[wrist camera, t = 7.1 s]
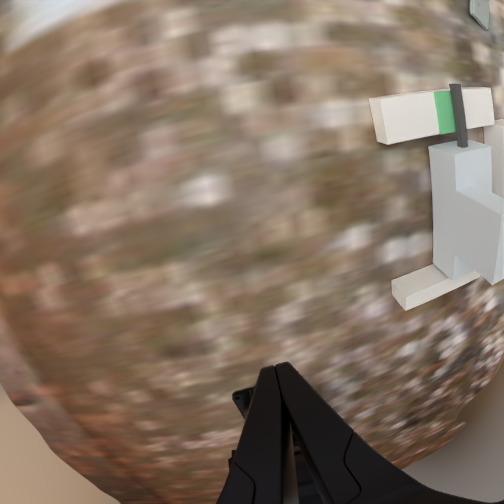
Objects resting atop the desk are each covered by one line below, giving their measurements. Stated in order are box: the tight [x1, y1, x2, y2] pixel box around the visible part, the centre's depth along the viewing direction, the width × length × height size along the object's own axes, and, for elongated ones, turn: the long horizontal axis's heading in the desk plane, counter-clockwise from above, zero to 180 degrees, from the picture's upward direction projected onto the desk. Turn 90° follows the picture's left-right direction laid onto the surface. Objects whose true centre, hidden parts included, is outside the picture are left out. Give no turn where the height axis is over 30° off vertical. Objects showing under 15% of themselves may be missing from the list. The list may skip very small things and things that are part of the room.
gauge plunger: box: [428, 84, 504, 285], centre depth 17 cm, size 14×4×8 cm, turn 16°
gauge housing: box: [369, 87, 504, 311], centre depth 19 cm, size 16×14×5 cm
